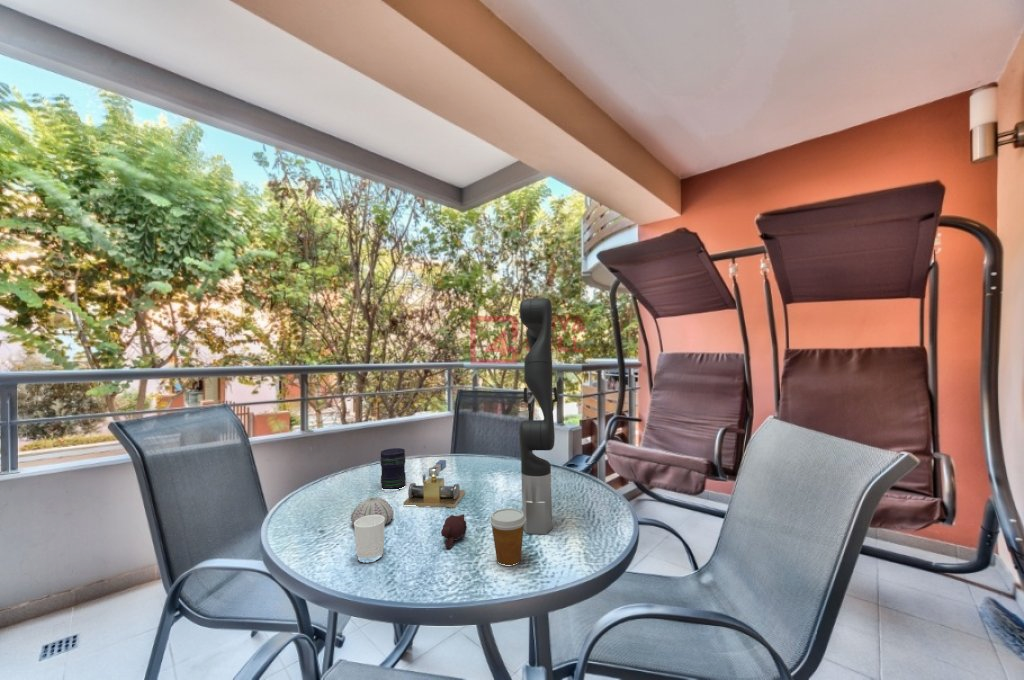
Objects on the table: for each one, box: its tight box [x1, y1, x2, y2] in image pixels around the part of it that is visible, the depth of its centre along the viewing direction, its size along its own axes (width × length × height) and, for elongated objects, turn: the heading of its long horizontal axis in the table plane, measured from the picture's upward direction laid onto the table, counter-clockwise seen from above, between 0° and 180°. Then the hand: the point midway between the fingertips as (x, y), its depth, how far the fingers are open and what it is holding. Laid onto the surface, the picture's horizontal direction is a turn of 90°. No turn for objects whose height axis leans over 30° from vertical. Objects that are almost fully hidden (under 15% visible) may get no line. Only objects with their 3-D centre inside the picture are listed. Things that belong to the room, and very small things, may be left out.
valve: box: [403, 473, 466, 509], centre depth 152 cm, size 14×19×10 cm
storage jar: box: [379, 447, 407, 489], centre depth 167 cm, size 10×10×15 cm
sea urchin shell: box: [350, 496, 395, 525], centre depth 133 cm, size 13×14×8 cm
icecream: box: [440, 513, 468, 549], centre depth 121 cm, size 7×7×15 cm
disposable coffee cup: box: [489, 507, 526, 565], centre depth 108 cm, size 10×10×12 cm
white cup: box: [353, 515, 386, 558], centre depth 111 cm, size 8×8×10 cm
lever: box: [428, 459, 447, 478], centre depth 156 cm, size 13×4×3 cm, turn 172°
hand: (541, 412), depth 171 cm, fingers open, 8 cm apart
